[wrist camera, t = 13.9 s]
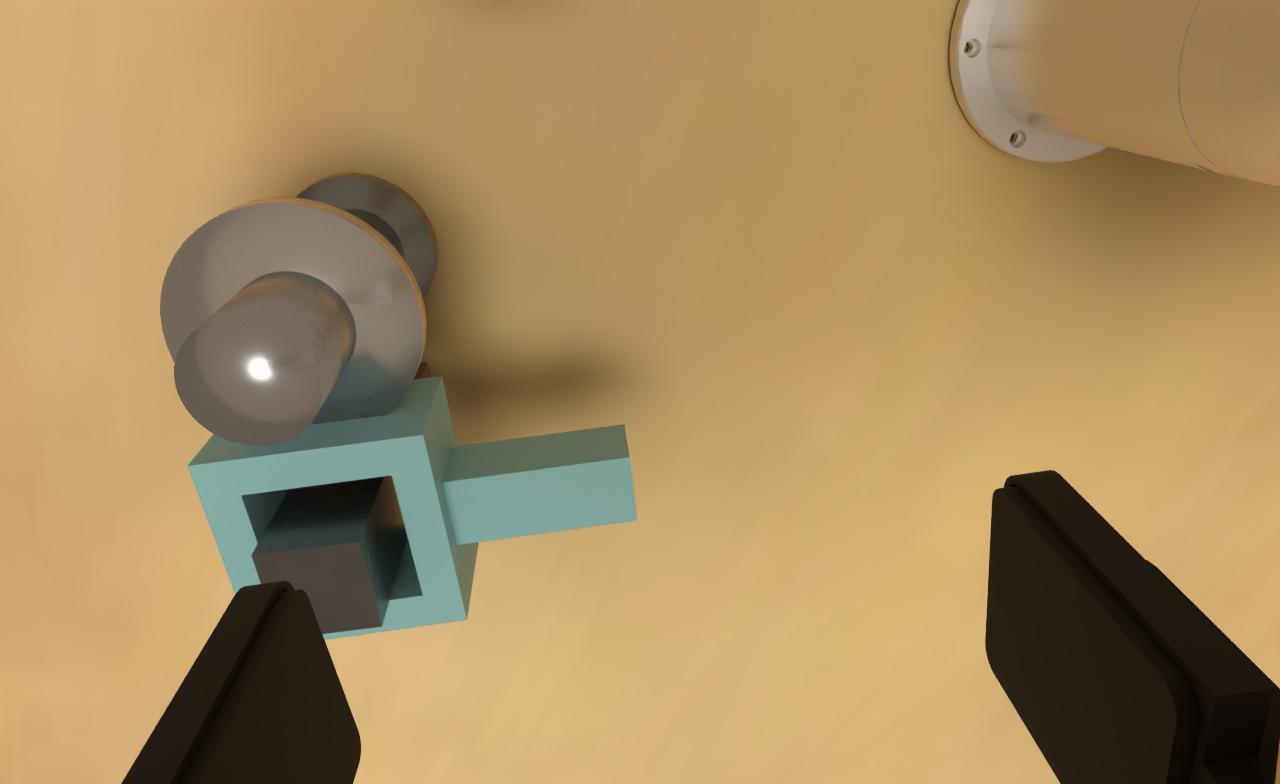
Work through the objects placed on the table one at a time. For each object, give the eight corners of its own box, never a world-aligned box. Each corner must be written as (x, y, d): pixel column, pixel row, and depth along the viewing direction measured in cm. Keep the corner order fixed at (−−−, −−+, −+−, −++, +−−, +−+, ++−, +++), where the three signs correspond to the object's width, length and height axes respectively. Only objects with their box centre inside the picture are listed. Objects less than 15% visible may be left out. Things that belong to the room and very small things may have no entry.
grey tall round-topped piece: (435, 142, 43) (361, 219, 27) (471, 325, 47) (426, 489, 31) (238, 166, 43) (41, 258, 26) (292, 348, 47) (150, 526, 31)
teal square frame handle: (614, 353, 39) (624, 408, 34) (635, 520, 43) (646, 594, 38) (239, 402, 38) (187, 465, 33) (294, 567, 42) (255, 649, 37)
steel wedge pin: (427, 362, 48) (359, 542, 32) (439, 425, 50) (382, 626, 33) (356, 370, 48) (251, 555, 31) (371, 432, 50) (279, 639, 33)
